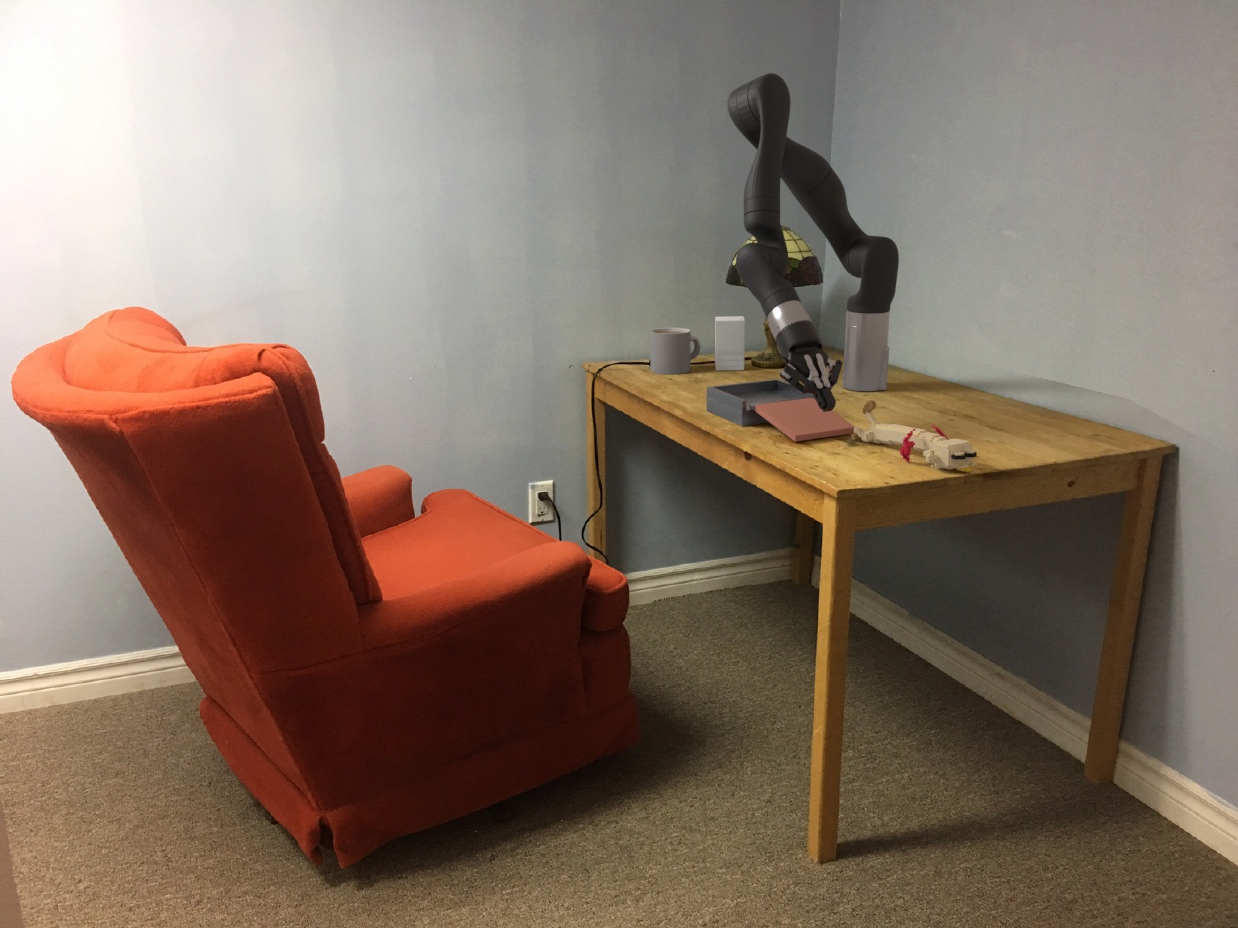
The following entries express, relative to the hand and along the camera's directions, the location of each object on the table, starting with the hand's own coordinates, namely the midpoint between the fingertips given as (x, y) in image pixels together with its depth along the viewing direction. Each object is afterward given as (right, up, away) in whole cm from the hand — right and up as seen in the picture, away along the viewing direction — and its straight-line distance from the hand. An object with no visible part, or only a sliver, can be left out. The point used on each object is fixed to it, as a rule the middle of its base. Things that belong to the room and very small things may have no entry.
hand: (829, 409), depth 164 cm
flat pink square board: (-6, +2, +14) cm, 15 cm away
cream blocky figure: (+12, -9, -8) cm, 17 cm away
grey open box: (-9, 0, +22) cm, 24 cm away
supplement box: (-10, +14, +67) cm, 70 cm away
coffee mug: (-23, +13, +66) cm, 71 cm away
